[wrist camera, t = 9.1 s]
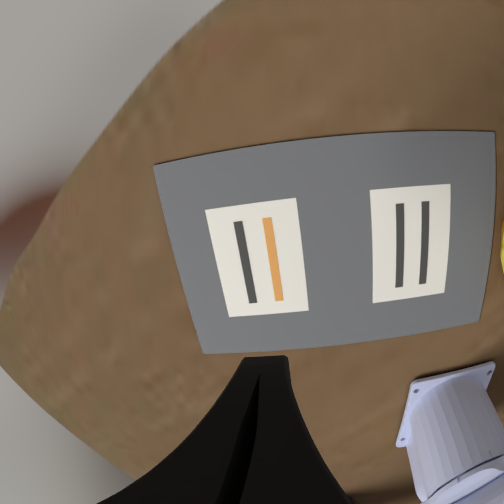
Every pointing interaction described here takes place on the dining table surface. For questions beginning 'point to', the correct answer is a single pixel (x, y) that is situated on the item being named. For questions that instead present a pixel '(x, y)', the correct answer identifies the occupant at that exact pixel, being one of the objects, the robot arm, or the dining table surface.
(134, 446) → the dining table surface
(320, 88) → the dining table surface
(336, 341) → the label mat
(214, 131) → the dining table surface
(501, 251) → the decorated donut
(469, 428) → the robot arm
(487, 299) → the dining table surface
